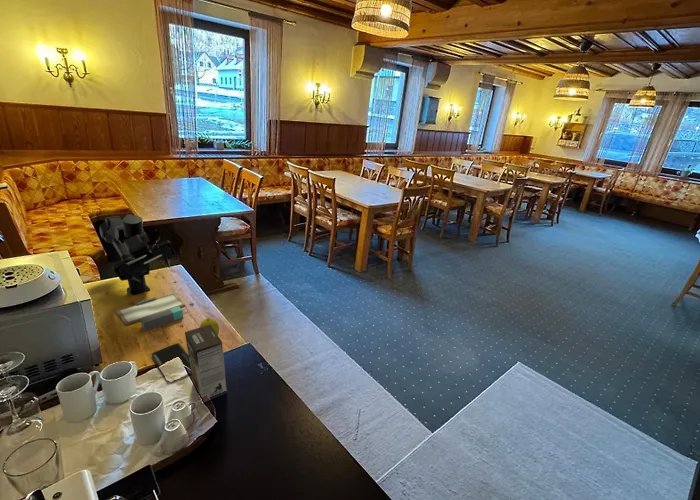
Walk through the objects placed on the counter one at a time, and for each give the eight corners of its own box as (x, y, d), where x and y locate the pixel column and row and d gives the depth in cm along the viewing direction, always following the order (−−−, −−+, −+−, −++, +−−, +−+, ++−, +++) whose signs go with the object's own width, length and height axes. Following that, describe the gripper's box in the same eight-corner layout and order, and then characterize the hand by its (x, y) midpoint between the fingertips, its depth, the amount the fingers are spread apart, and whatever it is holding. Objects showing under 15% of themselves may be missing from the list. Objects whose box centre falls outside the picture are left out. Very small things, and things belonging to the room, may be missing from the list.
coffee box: (191, 383, 90) (183, 331, 84) (216, 373, 94) (210, 323, 88) (201, 405, 84) (194, 351, 78) (228, 394, 87) (222, 341, 82)
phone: (168, 381, 89) (150, 353, 99) (168, 384, 90) (151, 356, 100) (198, 367, 95) (179, 342, 105) (199, 371, 95) (179, 345, 105)
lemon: (223, 335, 110) (220, 314, 107) (215, 346, 105) (212, 324, 102) (206, 334, 110) (203, 312, 107) (197, 344, 105) (194, 322, 102)
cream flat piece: (116, 312, 119) (115, 308, 119) (173, 294, 132) (173, 291, 132) (126, 325, 112) (125, 322, 112) (185, 305, 125) (184, 302, 125)
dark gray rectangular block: (142, 326, 112) (140, 319, 111) (179, 313, 120) (178, 306, 119) (145, 330, 110) (143, 322, 109) (183, 317, 118) (182, 309, 117)
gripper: (96, 244, 110) (112, 272, 102) (155, 219, 119) (173, 243, 111) (113, 267, 118) (129, 295, 110) (167, 241, 127) (185, 265, 119)
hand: (154, 273), depth 112 cm, fingers open, 9 cm apart
